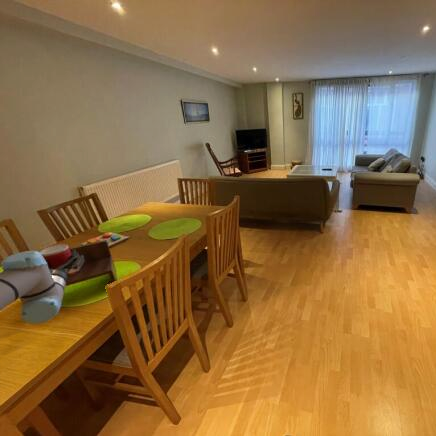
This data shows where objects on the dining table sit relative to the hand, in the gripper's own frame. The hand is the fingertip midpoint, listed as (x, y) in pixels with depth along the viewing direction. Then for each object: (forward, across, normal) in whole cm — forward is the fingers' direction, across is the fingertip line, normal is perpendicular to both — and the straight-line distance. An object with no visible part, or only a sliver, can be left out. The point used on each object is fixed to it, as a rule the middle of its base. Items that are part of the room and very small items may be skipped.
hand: (60, 255), depth 94 cm
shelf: (+5, 0, -20) cm, 21 cm away
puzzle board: (+53, +9, -20) cm, 58 cm away
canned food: (-5, 0, -6) cm, 8 cm away
